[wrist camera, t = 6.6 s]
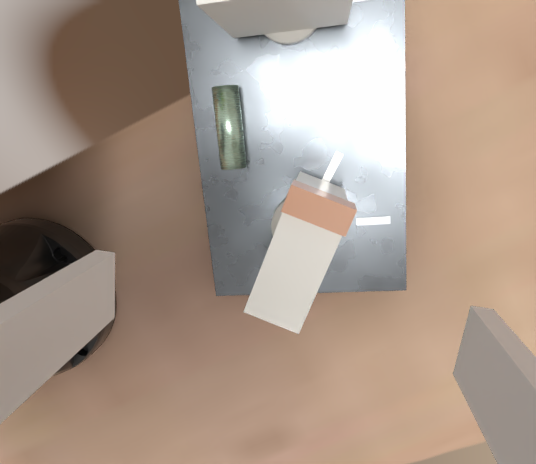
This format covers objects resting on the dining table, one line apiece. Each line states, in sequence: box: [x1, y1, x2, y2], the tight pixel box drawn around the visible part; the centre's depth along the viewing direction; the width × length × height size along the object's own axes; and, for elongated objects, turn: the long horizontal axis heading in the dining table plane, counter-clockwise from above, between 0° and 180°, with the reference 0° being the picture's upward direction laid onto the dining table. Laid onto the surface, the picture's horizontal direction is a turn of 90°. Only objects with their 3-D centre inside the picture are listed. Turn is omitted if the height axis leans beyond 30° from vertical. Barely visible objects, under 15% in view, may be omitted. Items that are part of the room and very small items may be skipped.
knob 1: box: [244, 171, 357, 334], centre depth 29 cm, size 8×5×10 cm, turn 160°
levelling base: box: [179, 0, 406, 296], centre depth 32 cm, size 16×28×4 cm, turn 5°
